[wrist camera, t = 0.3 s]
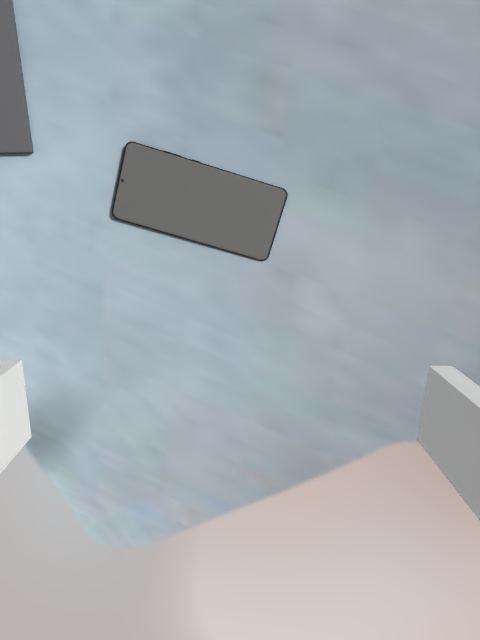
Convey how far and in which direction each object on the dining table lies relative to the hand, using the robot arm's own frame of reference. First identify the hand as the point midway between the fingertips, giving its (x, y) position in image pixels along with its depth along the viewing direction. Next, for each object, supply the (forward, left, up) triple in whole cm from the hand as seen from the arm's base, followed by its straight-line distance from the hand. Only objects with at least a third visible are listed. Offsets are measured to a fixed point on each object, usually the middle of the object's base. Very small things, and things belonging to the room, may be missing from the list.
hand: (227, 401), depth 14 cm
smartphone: (-6, -3, -28) cm, 29 cm away
